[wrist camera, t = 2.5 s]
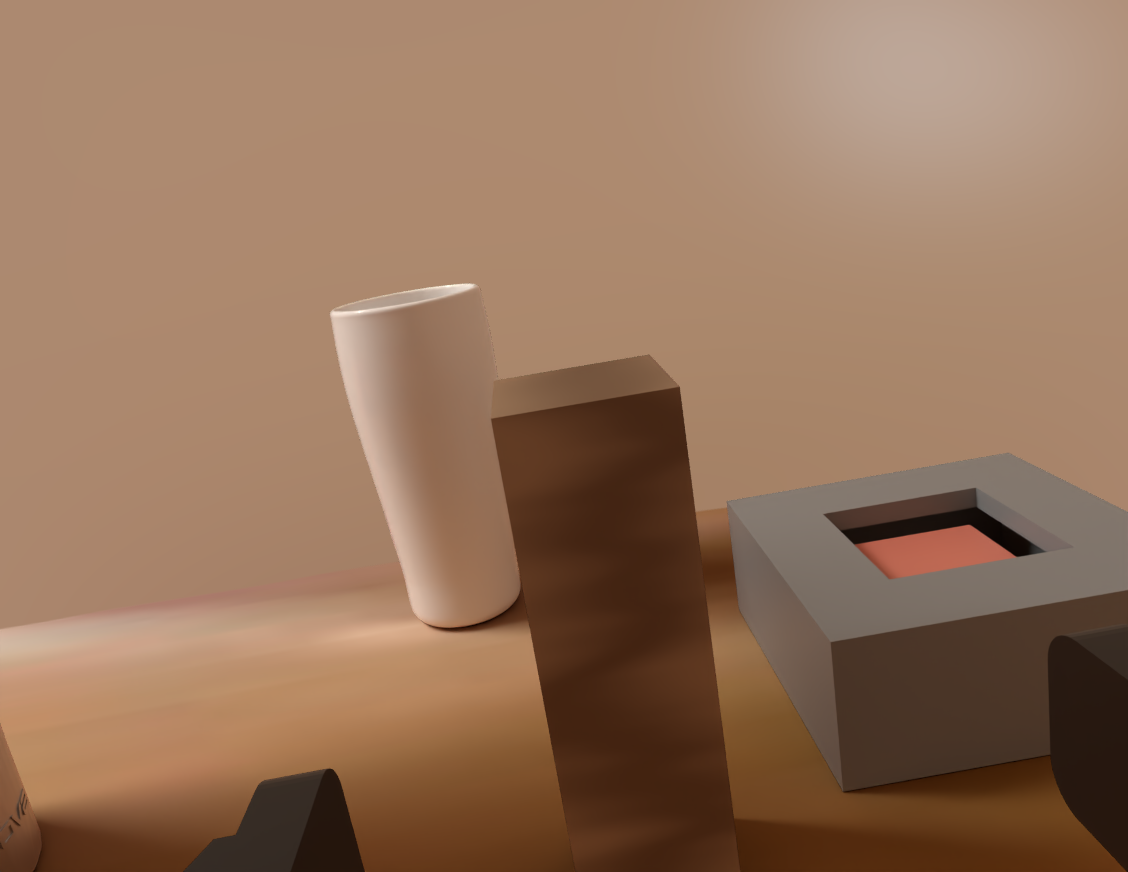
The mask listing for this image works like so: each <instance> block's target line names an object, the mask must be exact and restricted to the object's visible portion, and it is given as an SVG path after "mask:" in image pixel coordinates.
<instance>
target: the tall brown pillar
mask: <svg viewBox="0 0 1128 872" xmlns="http://www.w3.org/2000/svg"><path fill="white" fill-rule="evenodd" d="M491 423H492V428H493V434H494V439H495V444H496V450H497V455H498V460H499V466H500V471H501V476H502V482H503V487H504V492H505V498H506V503H507V508H508V514H509V519H510V524H511V530H512V535H513V541H514V546H515V551H516V557H517V562H518V567H519V573H520V578H521V583H522V589H523V594H524V599H525V605H526V610H527V615H528V621H529V626H530V631H531V637H532V642H533V647H534V653H535V658H536V664H537V669H538V674H539V680H540V685H541V690H542V696H543V701H544V706H545V712H546V717H547V722H548V728H549V733H550V738H551V744H552V749H553V754H554V760H555V765H556V770H557V776H558V781H559V787H560V792H561V797H562V803H563V808H564V813H565V819H566V824H567V829H568V835H569V840H570V845H571V851H572V856H573V861H574V867H575V872H740V864H739V856H738V848H737V840H736V832H735V824H734V816H733V808H732V801H731V793H730V785H729V777H728V769H727V761H726V753H725V745H724V737H723V729H722V721H721V713H720V705H719V697H718V689H717V681H716V673H715V665H714V657H713V649H712V641H711V633H710V625H709V617H708V609H707V601H706V593H705V585H704V577H703V569H702V561H701V553H700V545H699V537H698V529H697V521H696V513H695V506H694V497H693V489H692V481H691V474H690V466H689V458H688V450H687V442H686V434H685V426H684V418H683V410H682V402H681V394H680V387H679V385H677V383H676V382H675V381H674V380H673V379H672V378H671V377H670V376H669V375H668V374H667V373H666V372H665V371H664V370H663V368H661V366H660V365H659V364H658V363H657V362H656V361H655V360H654V359H653V358H652V357H651V356H650V355H645V356H638V357H632V358H626V359H620V360H614V361H608V362H602V363H596V364H590V365H584V366H579V367H573V368H567V369H561V370H555V371H549V372H543V373H537V374H532V375H525V376H519V377H514V378H507V379H501V380H495V381H494V382H493V395H492V408H491Z"/></svg>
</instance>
